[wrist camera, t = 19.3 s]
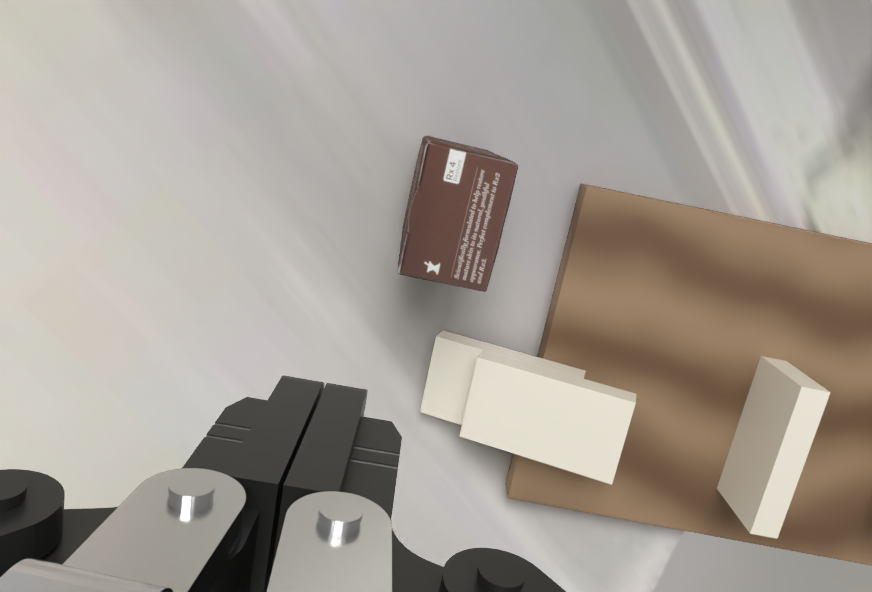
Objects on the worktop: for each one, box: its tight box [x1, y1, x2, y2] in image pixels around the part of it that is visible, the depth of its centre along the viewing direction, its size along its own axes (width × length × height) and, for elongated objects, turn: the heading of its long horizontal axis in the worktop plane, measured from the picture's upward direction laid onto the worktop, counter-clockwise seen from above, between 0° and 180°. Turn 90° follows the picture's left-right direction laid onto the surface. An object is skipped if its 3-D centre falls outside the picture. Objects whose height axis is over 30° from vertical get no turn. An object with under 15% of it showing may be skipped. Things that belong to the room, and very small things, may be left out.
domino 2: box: [460, 350, 636, 485], centre depth 41 cm, size 2×5×9 cm
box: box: [398, 136, 518, 292], centre depth 36 cm, size 6×4×12 cm
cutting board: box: [506, 184, 872, 565], centre depth 44 cm, size 20×27×2 cm
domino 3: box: [717, 356, 831, 539], centre depth 42 cm, size 2×5×9 cm
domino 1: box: [420, 330, 586, 425], centre depth 43 cm, size 2×5×9 cm
